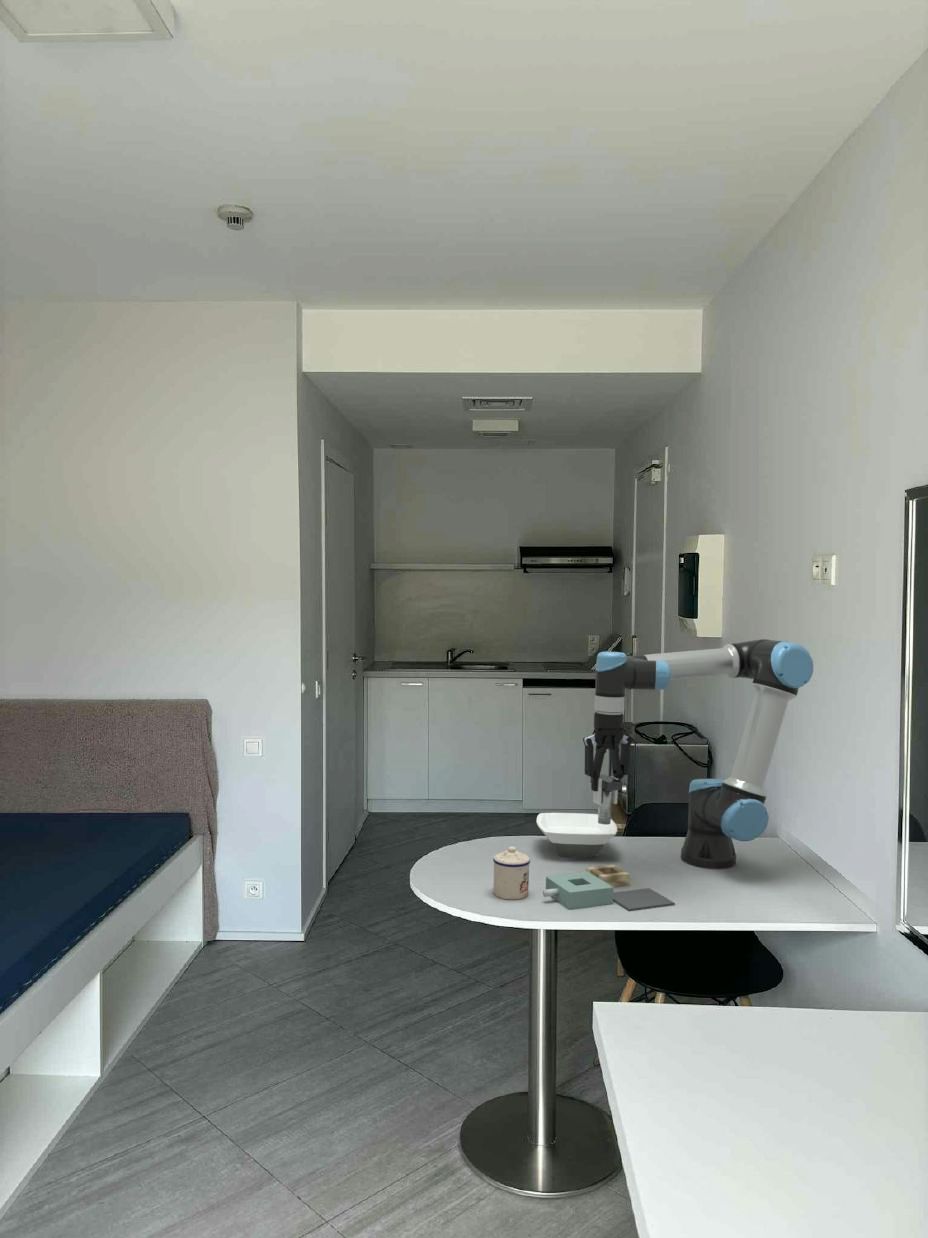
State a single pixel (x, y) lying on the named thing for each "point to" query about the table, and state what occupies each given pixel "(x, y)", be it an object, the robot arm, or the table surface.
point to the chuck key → (607, 798)
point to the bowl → (575, 833)
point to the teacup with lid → (511, 874)
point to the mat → (640, 899)
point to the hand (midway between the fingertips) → (605, 803)
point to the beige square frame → (610, 875)
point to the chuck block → (578, 890)
